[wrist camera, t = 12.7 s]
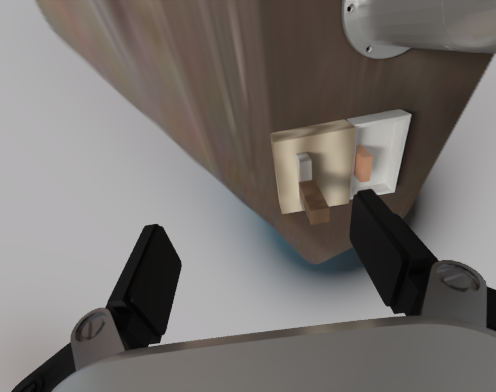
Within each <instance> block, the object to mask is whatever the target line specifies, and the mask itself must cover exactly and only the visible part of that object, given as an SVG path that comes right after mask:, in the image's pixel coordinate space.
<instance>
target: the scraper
mask: <svg viewBox="0 0 496 392" xmlns="http://www.w3.org/2000/svg"><path fill="white" fill-rule="evenodd" d="M296 162H297V177H298V192H299V201H300V204H301V207H302V209H303V210H305V211H306V213H307V216H308V219H309V221H310V224H311V225H313V224H320V223H326V222H329V209H330V208H329V206H328V204H327V202H326V200H325V198H324V196H323V195H322V193H321V191H320V189H319V187H318V185H317V183H316V181H315V179H314V180H312V163H311V159H310V157H309V155H308V154H307V152H302V153H296Z"/></svg>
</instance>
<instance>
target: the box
mask: <svg viewBox="0 0 496 392" xmlns="http://www.w3.org/2000/svg"><path fill="white" fill-rule="evenodd" d="M411 115H412V114H410V113H408V112H405V111H403V110H401V109H397V110H391V111H386V112H381V113H376V114H370V115H365V116H360V117H354V118H349V119H347V122H349V123H350V124H351V125H352V126H354V127H355V135H354V146H353V158H352V170H351V181H350V193H349V200H350V199H353V196H354V194H357V192H358V191H359V190H365V189H372V190H374V192H375V193H376V194H377V195H381V194H387V193H393V192H395V187H396V183H397V178H398V174H399V169H400V165H401V160H402V155H403V151H404V146H405V142H406V137H407V133H408V128H409V124H410V119H411ZM357 145H361V146H362V147H364V148H365V149H366V150H367V151H368V152H369V153H370V154H371V155H372V156H373V160H372V168H371V175H370V181H367V182H361V183H360V182H359V181H358V179H357V178H356V177H355V176H354V167H355V156H356V146H357Z"/></svg>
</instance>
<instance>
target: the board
mask: <svg viewBox="0 0 496 392" xmlns="http://www.w3.org/2000/svg"><path fill="white" fill-rule="evenodd" d="M354 135H355V127H354V126H352V125H351V124H350V123H349V122H347V121H346V120H345V119H344V120H338V121H333V122H328V123H323V124H317V125H312V126H307V127H301V128H296V129H291V130H285V131H280V132H275V133H270V136H271V144H272V151H273V159H274V167H275V174H276V182H277V190H278V197H279V203H280V207H281V211H282V214H286V213H292V212H298V211H304V210H303V209H302V207H301V204H300V201H299V192H298V177H297V162H296V153H302V152H307V154H308V155H309V157H310V159H311V163H312V180H314V179H315V181H316V183H317V185H318V187H319V189H320V191H321V193H322V195H323V196H324V198H325V200H326V202H327V204H328V206H335V205H341V204H347V203H349V193H350V181H351V170H352V158H353V146H354Z"/></svg>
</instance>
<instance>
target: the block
mask: <svg viewBox="0 0 496 392" xmlns="http://www.w3.org/2000/svg"><path fill="white" fill-rule="evenodd" d="M372 160H373V156H372V155H371V154H370V153H369V152H368V151H367V150H366V149H365V148H364V147H362V146H361V145H357V146H356V156H355V167H354V176H355V177H356V178H357V179H358V181H359V182H360V183H361V182H367V181H370V175H371V168H372Z"/></svg>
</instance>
